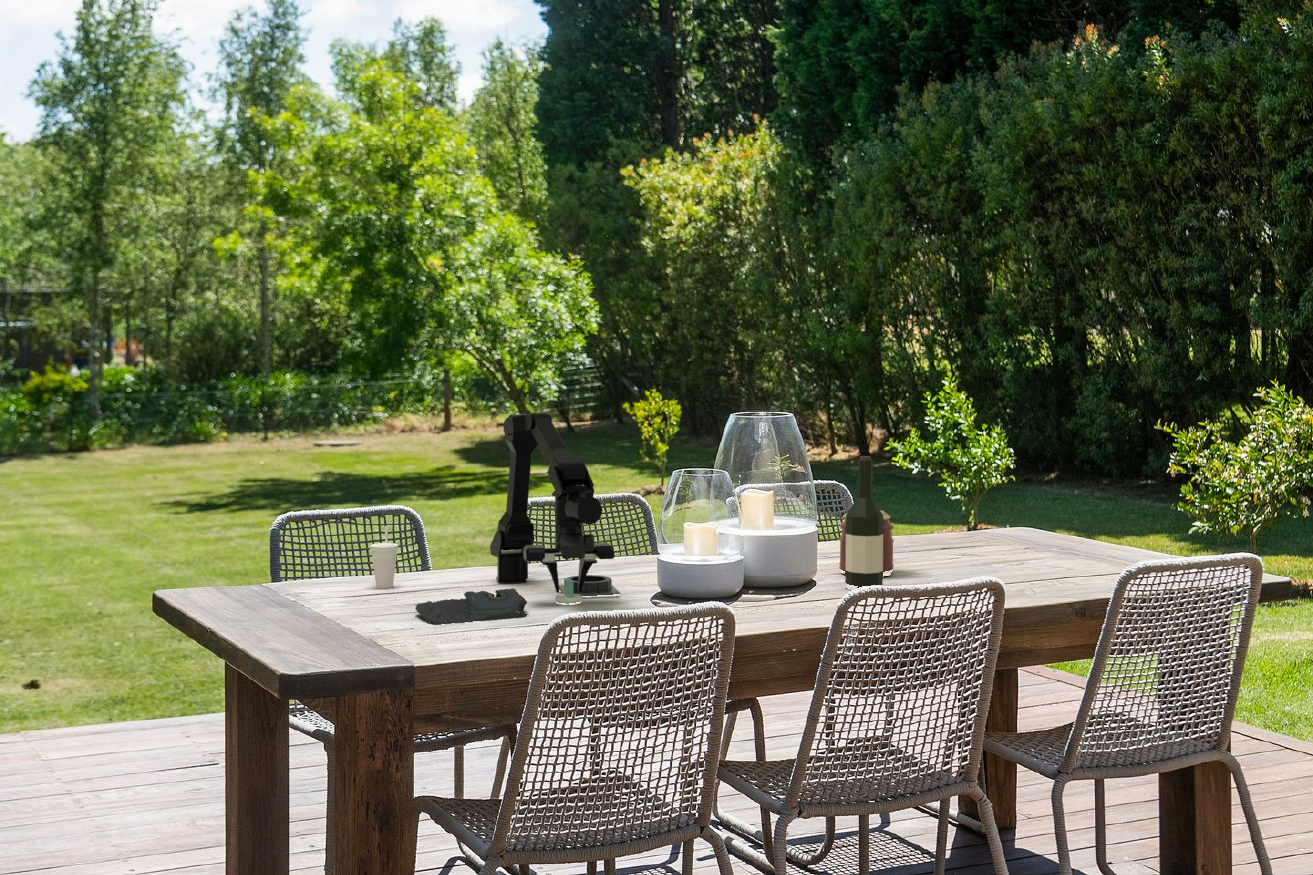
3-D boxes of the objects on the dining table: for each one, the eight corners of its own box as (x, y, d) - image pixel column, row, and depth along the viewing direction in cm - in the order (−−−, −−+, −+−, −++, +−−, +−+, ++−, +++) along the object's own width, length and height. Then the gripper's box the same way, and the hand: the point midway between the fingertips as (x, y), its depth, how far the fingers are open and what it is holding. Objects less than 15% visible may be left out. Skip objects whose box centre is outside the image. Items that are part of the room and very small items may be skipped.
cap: (557, 606, 279) (557, 582, 279) (553, 601, 285) (553, 578, 285) (583, 605, 281) (583, 581, 280) (579, 600, 286) (579, 577, 286)
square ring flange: (565, 598, 287) (565, 584, 287) (557, 589, 299) (557, 575, 299) (620, 596, 290) (620, 582, 290) (610, 587, 301) (610, 573, 301)
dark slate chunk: (408, 614, 272) (408, 591, 271) (510, 606, 281) (509, 583, 281) (430, 628, 258) (430, 604, 258) (536, 618, 268) (536, 595, 267)
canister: (828, 572, 324) (829, 500, 323) (873, 568, 330) (874, 497, 329) (858, 580, 312) (859, 505, 311) (904, 576, 318) (905, 503, 317)
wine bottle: (881, 585, 304) (882, 455, 303) (883, 592, 296) (885, 458, 294) (844, 585, 305) (845, 455, 304) (846, 591, 297) (847, 457, 295)
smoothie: (392, 590, 298) (391, 528, 297) (365, 589, 299) (364, 527, 298) (403, 585, 304) (402, 524, 303) (377, 584, 305) (376, 523, 304)
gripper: (529, 525, 272) (529, 600, 273) (618, 523, 276) (618, 597, 277) (522, 518, 283) (523, 591, 284) (609, 516, 287) (609, 588, 288)
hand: (568, 592), depth 283 cm, fingers open, 4 cm apart
